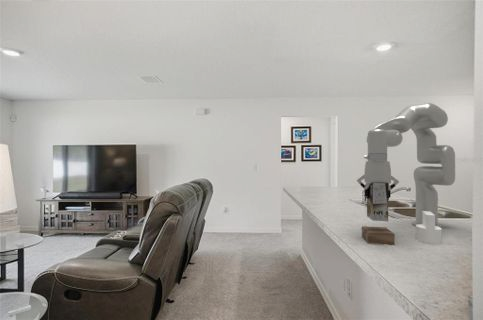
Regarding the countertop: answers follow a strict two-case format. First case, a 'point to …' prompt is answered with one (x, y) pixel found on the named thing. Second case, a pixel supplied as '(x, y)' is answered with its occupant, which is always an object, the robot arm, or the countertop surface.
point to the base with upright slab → (428, 229)
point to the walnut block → (377, 235)
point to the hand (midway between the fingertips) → (377, 198)
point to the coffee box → (378, 201)
